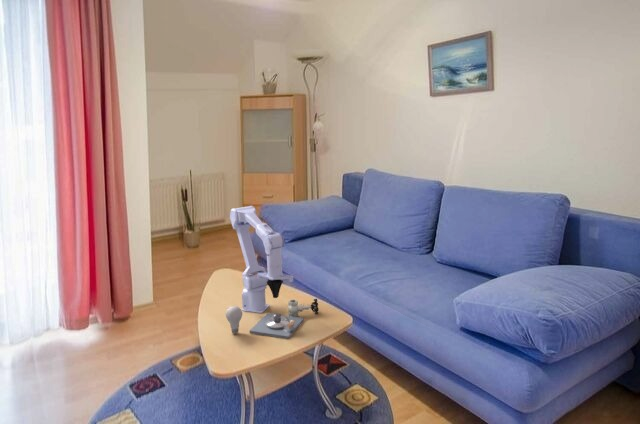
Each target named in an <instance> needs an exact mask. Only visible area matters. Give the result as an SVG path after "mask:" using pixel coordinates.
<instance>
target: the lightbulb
mask: <svg viewBox="0 0 640 424" xmlns="http://www.w3.org/2000/svg"><path fill="white" fill-rule="evenodd" d="M242 317H243V311H242V308H240V307H239V306H236V305H231V306H230V307H228V308H227V309H226V312H225V318H226V320H227V321H228V323H229V326H230V328H231V329H230V330H231V333H232V334H233V335H237V334H238V333H239V328H240V321H241V319H242Z"/></svg>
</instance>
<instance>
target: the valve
mask: <svg viewBox="0 0 640 424" xmlns="http://www.w3.org/2000/svg"><path fill="white" fill-rule="evenodd" d="M298 303H299V301H298V300H297V299H289V300H288V303H287V304H288V307H287V310H288V316H292V317H299V312H300V313H302V312H303V311H304V310H306V311H308V310H309V309H310V310H311V311H312V312H313V313H314V315H319V302H318V299H317V298H313V302H311V304H310V305H308V304H305V305H302V303H301V304H298Z"/></svg>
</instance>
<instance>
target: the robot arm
mask: <svg viewBox="0 0 640 424" xmlns="http://www.w3.org/2000/svg"><path fill="white" fill-rule="evenodd" d="M229 220H230V223H231V227H232V229H233V230H235V231H236V234H237V238H238V242H239V245H240V248H241V252H242V255H243V260H244V263H245V266H246V267H245V270H244V271H243V272H242V275H241V276H242V284H243V287H244V288H243V290H242V292H241V301H242V302H241V304H242V308H241V310H242V312H243V311H244V312H250V313H251V312H252V313H259V314H262V313H264V312H265V310H267V309H268V308H269V307H270V304H267V302H266V289H267V286H268V287H269V290H270V291H271V293H272V297H273V299H278V297H279V295H280V290H281V287H282V285H283V283H284V282H289V283H293V282H294V276H293V275H290V274H286V273H283V255H282V253H283V252H282V248H283V247H284V246H285V239H284V238H285V237H284V236H283V234H282V233H281V232H276V231H275V230H273V229H272V228H271V227H270V226H269V225H268V223H266V222H262V221H261V219H260V218H259V217H258V215H257V209H256V208H255V206H253V205H249V206H242V207H237V208H236V207H235V208H234V207H232V208H231V209H230V211H229ZM251 227H252V228H254V229H255V234H256V235H257V236H258V237H259V239H261V241H262V243H263V247H264V252H265V254H266V265H267V267H266V268H265V267H264V266H261V265H259V262H258V259H257V255H256V252H255V248H254V245H253V241H252V237H251V234H250V231H249V230H250V228H251ZM266 269H267V271H266Z"/></svg>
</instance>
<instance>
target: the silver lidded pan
mask: <svg viewBox="0 0 640 424" xmlns="http://www.w3.org/2000/svg"><path fill="white" fill-rule="evenodd" d="M272 314H273V317H270V318H268V319H267V320H266V326H267V327H269V328H272V329H280V328H282V329H284V330H286V331H288V332H291V331H294V323H292V322H291V323H290V322H289V319H288V318H286V317H283V316H281V315H282V314H281V312H275V313H272Z"/></svg>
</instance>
